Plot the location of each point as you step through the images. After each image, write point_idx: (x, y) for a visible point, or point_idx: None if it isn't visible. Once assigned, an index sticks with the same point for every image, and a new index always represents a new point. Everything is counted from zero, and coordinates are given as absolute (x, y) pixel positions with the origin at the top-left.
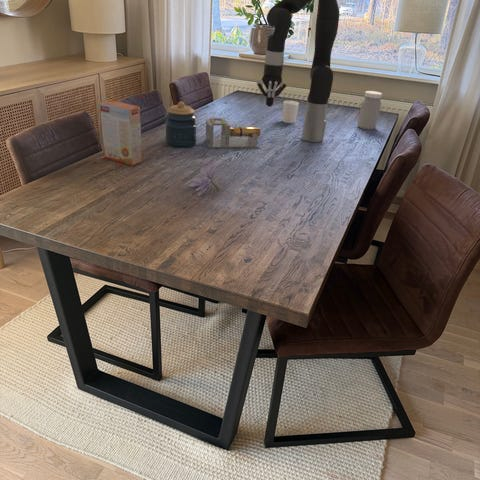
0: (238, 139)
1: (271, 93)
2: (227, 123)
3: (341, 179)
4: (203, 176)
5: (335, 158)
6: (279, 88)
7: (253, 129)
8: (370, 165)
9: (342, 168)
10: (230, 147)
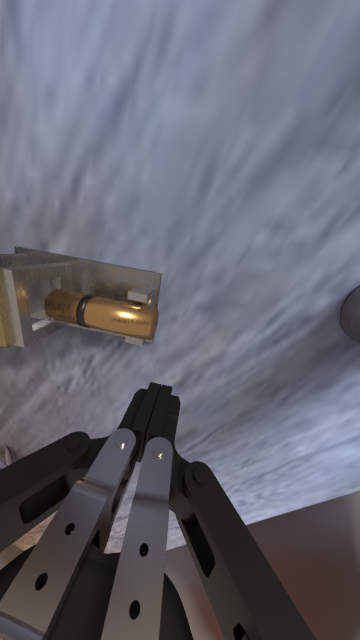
0: (113, 272)
1: (150, 473)
2: (16, 324)
3: (231, 502)
4: (2, 468)
5: (306, 444)
6: (224, 602)
7: (125, 334)
8: (351, 490)
9: (273, 479)
10: (78, 326)
